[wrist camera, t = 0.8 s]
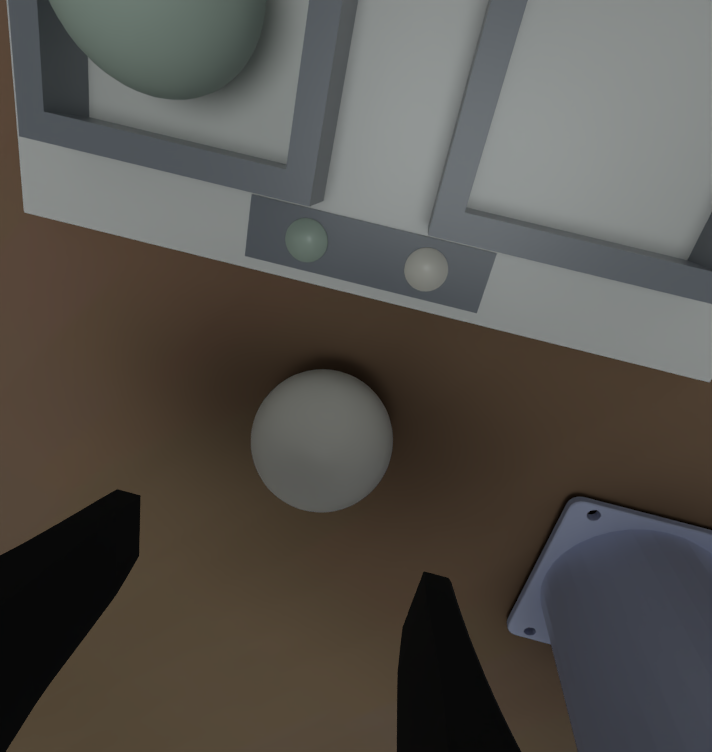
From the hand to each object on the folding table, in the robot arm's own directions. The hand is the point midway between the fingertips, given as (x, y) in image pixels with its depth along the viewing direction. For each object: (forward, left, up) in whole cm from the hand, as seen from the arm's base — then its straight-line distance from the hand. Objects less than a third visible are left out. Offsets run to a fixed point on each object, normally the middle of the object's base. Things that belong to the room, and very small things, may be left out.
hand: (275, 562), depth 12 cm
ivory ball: (0, 0, -6) cm, 6 cm away
